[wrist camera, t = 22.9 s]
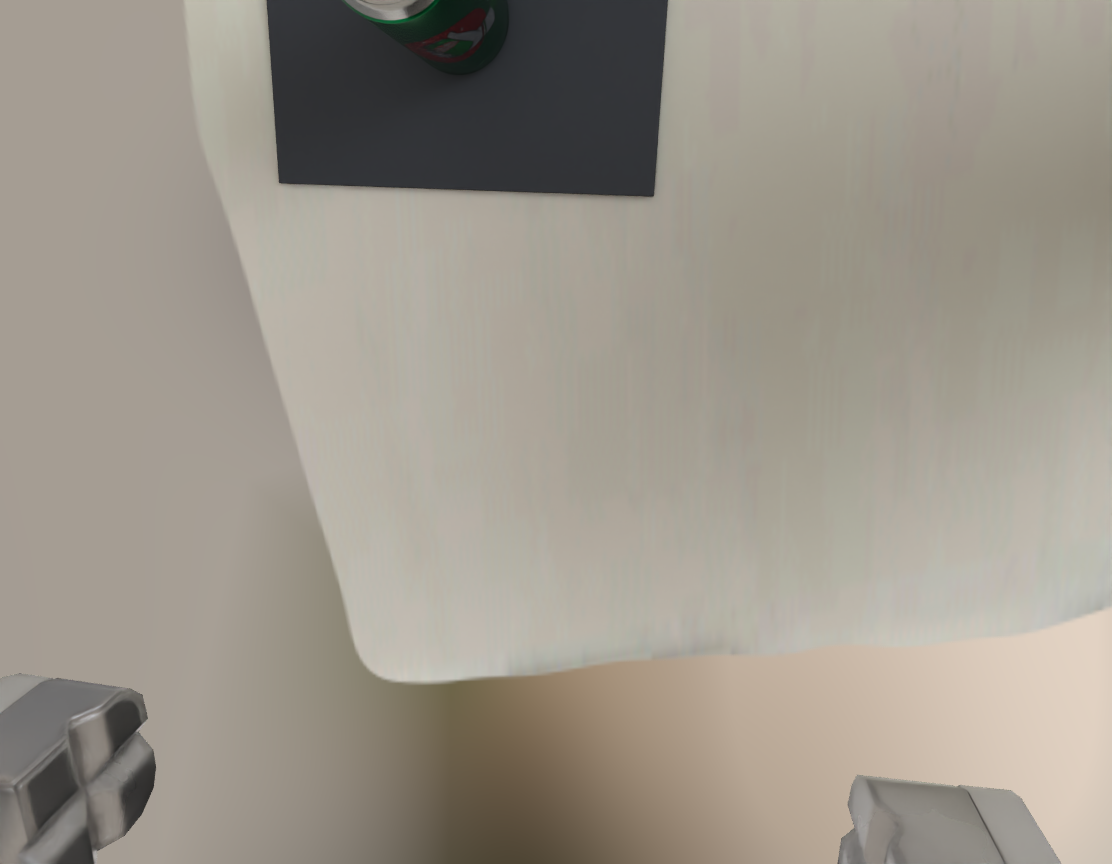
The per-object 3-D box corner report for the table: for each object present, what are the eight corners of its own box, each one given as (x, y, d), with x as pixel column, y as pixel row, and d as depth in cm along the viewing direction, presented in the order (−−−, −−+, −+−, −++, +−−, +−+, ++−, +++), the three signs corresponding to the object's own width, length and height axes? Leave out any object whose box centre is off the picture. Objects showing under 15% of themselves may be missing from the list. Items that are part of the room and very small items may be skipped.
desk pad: (679, -175, 33) (680, -179, 33) (653, 196, 38) (653, 196, 37) (257, -170, 35) (254, -173, 35) (281, 183, 40) (278, 183, 39)
